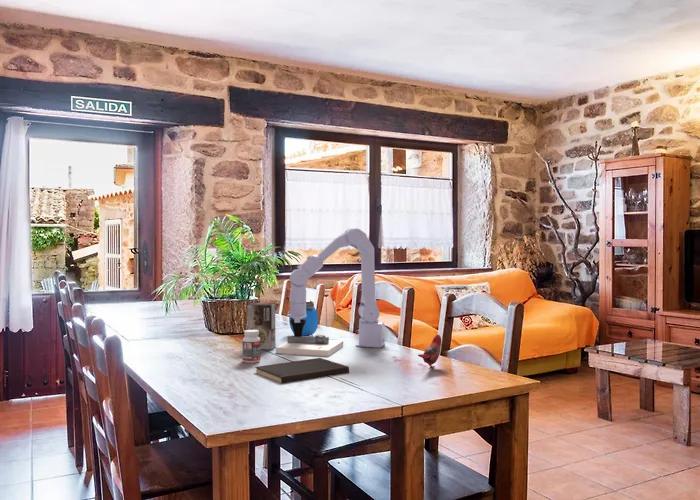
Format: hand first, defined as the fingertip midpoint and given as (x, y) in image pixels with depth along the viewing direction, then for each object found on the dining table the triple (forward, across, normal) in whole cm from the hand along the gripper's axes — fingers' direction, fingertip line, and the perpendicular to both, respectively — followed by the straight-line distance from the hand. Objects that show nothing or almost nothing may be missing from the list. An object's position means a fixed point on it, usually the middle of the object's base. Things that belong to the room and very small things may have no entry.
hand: (297, 339), depth 213 cm
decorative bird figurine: (+3, +37, +42) cm, 56 cm away
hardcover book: (+3, +39, +3) cm, 40 cm away
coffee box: (+3, +1, -13) cm, 13 cm away
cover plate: (+3, +4, +5) cm, 7 cm away
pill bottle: (+3, +24, -14) cm, 28 cm away
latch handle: (0, +3, +4) cm, 5 cm away
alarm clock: (+3, -24, +1) cm, 24 cm away
